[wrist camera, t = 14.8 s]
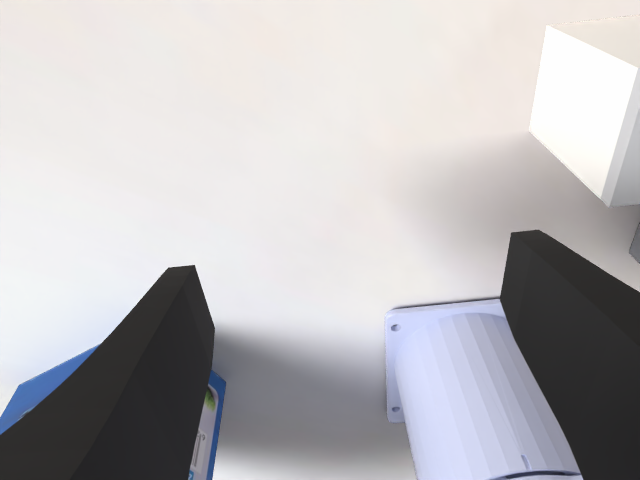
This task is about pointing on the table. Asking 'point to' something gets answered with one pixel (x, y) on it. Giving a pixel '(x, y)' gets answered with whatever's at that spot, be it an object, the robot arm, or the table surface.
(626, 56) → the plug
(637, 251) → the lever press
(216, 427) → the milk carton
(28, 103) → the table surface
